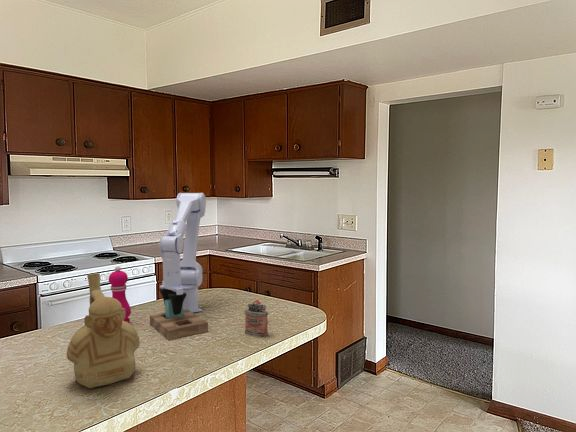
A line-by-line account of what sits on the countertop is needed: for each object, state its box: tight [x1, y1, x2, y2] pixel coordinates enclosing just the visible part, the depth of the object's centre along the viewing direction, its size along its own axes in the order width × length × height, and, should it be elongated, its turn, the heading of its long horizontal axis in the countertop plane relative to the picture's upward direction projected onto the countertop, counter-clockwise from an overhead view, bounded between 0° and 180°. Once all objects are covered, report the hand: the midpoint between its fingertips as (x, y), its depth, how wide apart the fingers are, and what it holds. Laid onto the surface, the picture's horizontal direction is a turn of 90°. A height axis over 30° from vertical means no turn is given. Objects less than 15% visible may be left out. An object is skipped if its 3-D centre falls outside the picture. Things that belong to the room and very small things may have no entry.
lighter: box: [244, 302, 269, 338], centre depth 141 cm, size 8×3×10 cm, turn 62°
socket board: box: [149, 309, 209, 341], centre depth 148 cm, size 18×13×3 cm
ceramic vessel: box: [65, 272, 140, 389], centre depth 111 cm, size 17×20×25 cm
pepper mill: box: [108, 266, 132, 324], centre depth 150 cm, size 7×7×20 cm
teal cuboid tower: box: [164, 299, 183, 319], centre depth 151 cm, size 4×5×8 cm
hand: (173, 311), depth 151 cm, fingers open, 7 cm apart
